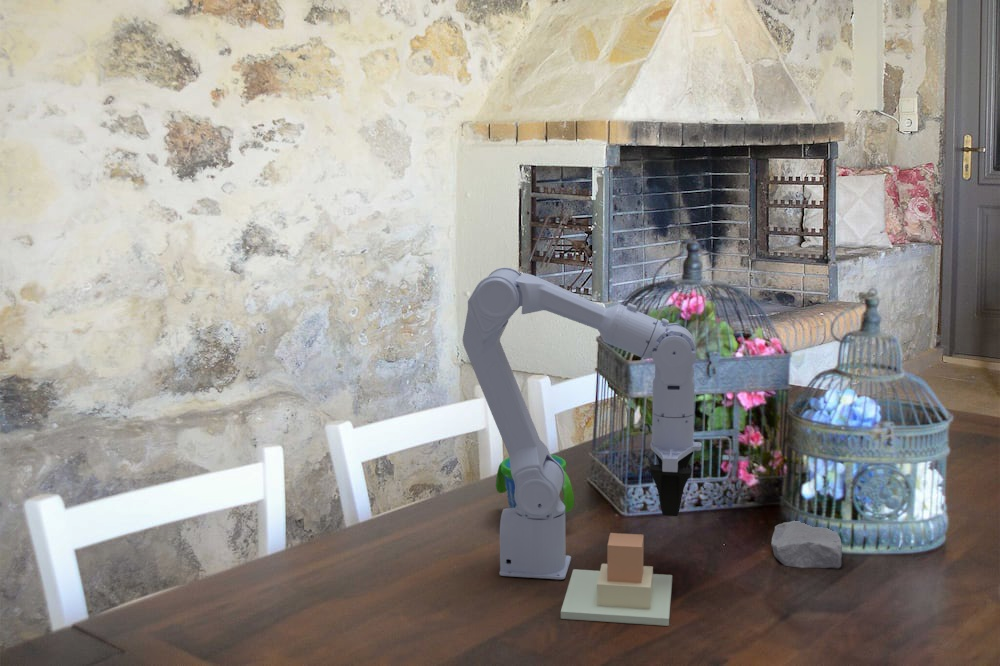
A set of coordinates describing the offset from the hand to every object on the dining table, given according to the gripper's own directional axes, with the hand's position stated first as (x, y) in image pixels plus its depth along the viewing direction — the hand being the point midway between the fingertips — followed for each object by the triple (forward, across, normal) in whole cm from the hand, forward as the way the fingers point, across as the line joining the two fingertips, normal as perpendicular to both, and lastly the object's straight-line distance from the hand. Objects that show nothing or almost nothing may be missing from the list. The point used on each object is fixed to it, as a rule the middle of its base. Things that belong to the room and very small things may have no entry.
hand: (671, 505), depth 154 cm
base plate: (+10, -10, +6) cm, 16 cm away
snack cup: (+11, +18, +23) cm, 31 cm away
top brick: (+6, -11, +6) cm, 14 cm away
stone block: (+11, +12, -19) cm, 25 cm away
